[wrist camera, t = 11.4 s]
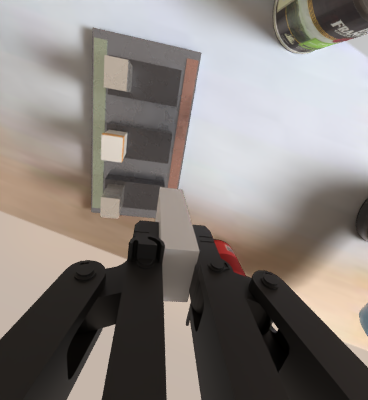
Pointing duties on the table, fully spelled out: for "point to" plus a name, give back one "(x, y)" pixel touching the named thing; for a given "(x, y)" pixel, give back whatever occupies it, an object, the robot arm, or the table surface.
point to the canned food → (229, 256)
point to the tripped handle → (113, 145)
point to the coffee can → (318, 23)
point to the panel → (139, 120)
